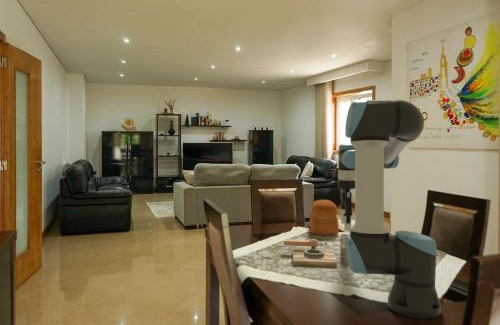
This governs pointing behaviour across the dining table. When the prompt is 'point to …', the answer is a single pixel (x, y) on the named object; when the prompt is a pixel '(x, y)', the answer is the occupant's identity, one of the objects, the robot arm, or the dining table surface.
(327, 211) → the bread
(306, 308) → the dining table surface
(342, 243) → the leg peg
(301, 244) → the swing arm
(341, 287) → the dining table surface
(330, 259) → the stool seat
